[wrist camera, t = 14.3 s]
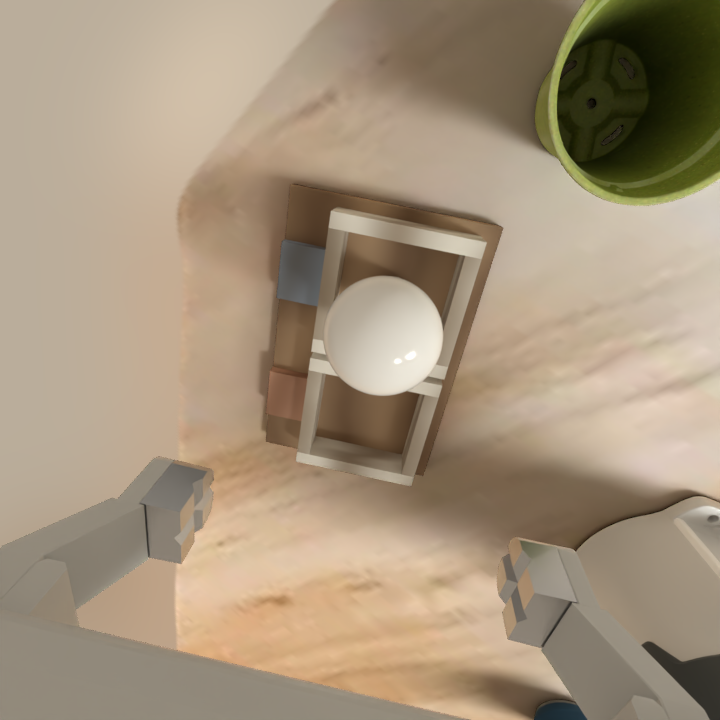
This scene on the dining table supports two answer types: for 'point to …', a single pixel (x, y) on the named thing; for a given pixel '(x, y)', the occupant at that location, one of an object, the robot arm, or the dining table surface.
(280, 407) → the socket board
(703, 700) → the robot arm
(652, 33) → the plant pot
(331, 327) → the lightbulb
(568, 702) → the soda can
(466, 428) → the dining table surface
